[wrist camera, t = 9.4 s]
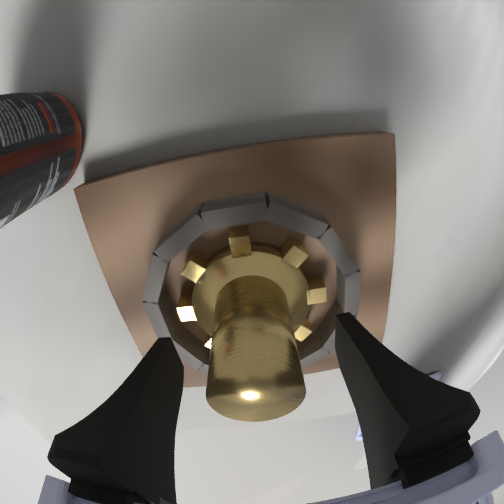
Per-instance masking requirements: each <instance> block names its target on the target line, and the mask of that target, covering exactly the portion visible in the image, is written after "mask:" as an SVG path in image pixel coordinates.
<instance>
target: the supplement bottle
mask: <svg viewBox="0 0 504 504" xmlns="http://www.w3.org/2000/svg"><path fill="white" fill-rule="evenodd" d="M82 142H83V139H82V127H81V123H80V120H79V117H78V115H77V113H76V111H75V109H74V108H73V106H72V105H71V104H70V102H69V101H68V100H66V99H65V98H64V97H62V96H61V95H59V94H56V93H51V92H28V93H13V94H4V95H0V228H2V227H3V226H4V225H6V224H8V223H9V222H10V221H12V220H13V219H14V218H16V217H17V216H19V215H20V214H22V213H23V212H25V211H27V210H28V209H30V208H31V207H33V206H34V205H36V204H38V203H39V202H41V201H42V200H44V199H45V198H47V197H49V196H51V195H52V194H54V193H55V192H57V191H58V190H59V189H61V188H62V187H64V186H65V185H66V184H67V182H68V181H69V180H70V179H71V177H72V176H73V175H74V173H75V171H76V169H77V167H78V164H79V161H80V158H81V153H82Z"/></svg>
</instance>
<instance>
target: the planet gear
mask: <svg viewBox="0 0 504 504" xmlns="http://www.w3.org/2000/svg"><path fill="white" fill-rule="evenodd" d="M228 239H229V244H230V245H228V246H226V247H224V248H222V249H220V250H218V251H216V252H215V253H213V254H212V255H211V256H210V257H209V258H208V257H206V256H205V255H203V254H201V253H200V252H198V251H197V250H195V249H194V250H193V252H192V253H191V254H190V256H189V257H188V259H187V260H186V262H185V264H184V267H183V270H182V273H181V274H182V275H183V276H185V277H187V278H188V279H190V280H192V281H193V282H195V285H194V289H193V293H190V294H182V295H180V298H179V301H178V305H177V311H178V314H179V316H180V319H181V321H190V320H197V322H198V323H199V325H200V326H201V327H202V328H203V330H204V331H206V339H205V346H206V347H208V348H210V357H209V367H208V377H207V388H206V399H207V402H208V403H209V405H210V406H211V407H212V408H213V409H214V410H215V411H216V412H218V413H219V414H221V415H223V416H226V417H228V418H231V419H235V420H240V421H250V422H257V421H266V420H272V419H276V418H279V417H282V416H284V415H286V414H288V413H290V412H292V411H293V410H295V409H296V408H297V407H298V406H299V405H300V404H301V403H302V402H303V400H304V398H305V395H306V388H305V383H304V378H303V373H302V368H301V363H300V358H299V353H298V348H297V343H296V339H298V340H300V341H301V342H302V341H303V340H304V339H305V338H306V337H307V336H308V335H309V334H310V333H311V332H312V328H311V325H310V321H309V318H308V317H307V315H308V312H309V310H310V305H311V304H316V303H322V302H326V286H325V283H324V281H323V279H322V276H321V275H317V276H311V277H305V274H304V271H303V269H302V267H301V266H300V265H301V264H302V263H303V262H304V260H305V259H306V258H307V257H308V256H309V255H308V253H307V251H306V248H305V246H304V244H302V243H301V242H300V241H298V240H297V239H295V238H294V237H293V236H291V235H289V237H288V238H287V239H286V240H285V241H284V242H283V244H282V245H281V246H280V247H277V246H275V245H272V244H269V243H265V242H258V241H251V239H250V233H249V227H248V225H247V226H241V227H234V228H229V238H228ZM295 338H296V339H295Z"/></svg>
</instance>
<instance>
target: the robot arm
mask: <svg viewBox="0 0 504 504" xmlns="http://www.w3.org/2000/svg"><path fill="white" fill-rule="evenodd" d="M335 351H336V355H337V359H338V363H339V367H340V370H341V372H342V375H343V377H344V380H345V383H346V385H347V388H348V390H349V393H350V396H351V398H352V401H353V404H354V406H355V409H356V413H357V416H358V420H359V425H358V429H357V433H356V437H355V438H356V440H357V441H359V440H363V443H364V448H365V453H366V459H367V465H368V471H369V478H370V486H371V490H368V491H364V492H361V493H357V494H353V495H349V496H345V497H340V498H336V499H331V500H326V501H321V502H315V503H309V504H494V502H493V496H492V493H491V492H493V491H494V490H496V489H497V488H499V487H500V486H502V485H503V484H504V443H503V441H502V439H501V437H500V435H499V433H498V431H494V432H492V433H490V434H489V435H487V436H485V437H484V438H482V439H480V440H478V441H477V442H475V443H474V444H472V445H471V446H470V444H469V442H468V440H470V435H469V433H468V430H469V429H470V428H471V426H472V425H473V424H474V423H475V421H476V420H477V418H478V416H479V414H480V409H479V407H478V405H477V403H476V401H475V399H474V398H473V397H472V395H471V394H470V392H467V391H464V390H461V389H458V388H455V387H452V386H449V385H447V384H444V383H442V382H440V381H439V380H440V378H441V374H440V373H439V372H438V373H435V374H432V375H429V376H428V375H426V374H424V373H422V372H420V371H418V370H417V369H415V368H413V367H412V366H410V365H409V364H407V363H406V362H404V361H403V360H402V359H400V358H399V357H398V356H396V355H395V354H394V353H392V352H391V351H390V350H389V349H388V348H386V347H385V346H384V345H383V344H382V343H381V342H380V341H378V340H377V339H376V338H375V337H374V336H373V335H372V334H371V333H370V332H369V331H368V330H367V329H366V328H365V327H364V326H363V325H362V324H361V323H360V322H359V321H358V320H357V319H356V318H355V317H354V316H353V315H352V314H351V313H350V312H346V313H341V314H336V323H335ZM183 383H184V366H183V363H182V361H181V359H180V357H179V355H178V352H177V350H176V348H175V346H174V343H173V341H172V339H171V337H162V338H158V339H157V340H156V341H155V343H154V344H153V345H152V347H151V348H150V349H149V351H148V352H147V353H146V355H145V356H144V357H143V359H142V360H141V361H140V363H139V364H138V365H137V367H136V368H135V369H134V371H133V372H132V373H131V374H130V375H129V376H128V378H127V379H126V380H125V381H124V382H123V384H122V385H121V386H120V387H119V388H118V389H117V390H116V391H115V392H114V393H113V394H112V395H111V396H110V397H109V398H108V399H107V400H106V401H105V402H104V403H103V404H102V405H100V406H99V407H98V408H97V409H96V410H94V411H93V412H92V413H91V414H89V415H88V416H87V417H85V418H84V419H82V420H81V421H79V422H78V423H76V424H75V425H73V426H72V427H70V428H68V429H66V430H64V431H63V432H61V433H59V434H57V435H55V437H54V440H53V442H52V445H51V448H50V451H49V454H48V457H47V458H48V460H49V462H50V463H51V464H52V465H53V466H55V467H56V468H57V469H59V470H60V471H61V472H63V473H64V474H65V475H67V476H68V477H70V478H71V482H70V483H68V482H66V481H63V480H60V479H57V478H55V477H52V476H49V475H46V477H45V481H44V484H43V487H42V491H41V494H40V498H39V501H38V504H177V503H176V492H175V478H174V476H175V475H174V447H175V431H176V424H177V419H178V413H179V408H180V402H181V397H182V391H183Z"/></svg>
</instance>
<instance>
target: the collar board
mask: <svg viewBox="0 0 504 504" xmlns="http://www.w3.org/2000/svg"><path fill="white" fill-rule="evenodd" d="M74 192H75V195H76V199H77V202H78V205H79V208H80V212H81V215H82V218H83V221H84V224H85V227H86V229H87V232H88V235H89V238H90V241H91V243H92V246H93V249H94V251H95V254H96V257H97V259H98V262H99V264H100V267H101V269H102V272H103V274H104V277H105V279H106V281H107V284H108V286H109V288H110V291H111V293H112V295H113V297H114V300H115V302H116V304H117V306H118V308H119V311H120V313H121V315H122V317H123V319H124V321H125V323H126V325H127V327H128V329H129V331H130V333H131V335H132V337H133V339H134V341H135V343H136V345H137V347H138V349H139V351H140V352H141V354H142V356H143V357H144V356H145V355H146V353H147V352H148V351H149V349H150V348H151V347H152V345H153V344H154V343H155V341H156V340H157V339H158V338H162V337H171V339H172V341H173V343H174V346H175V348H176V350H177V352H178V355H179V357H180V359H181V361H182V363H183V366H184V383H183V387H198V386H207V377H208V367H209V357H210V348H208V347H206V346H205V339H206V331H204V330H203V328H202V327H201V326H200V325H199V323H198V322H197V320H190V321H181V319H180V316H179V314H178V311H177V305H178V301H179V298H180V295H182V294H190V293H193V289H194V285H195V282H193V281H192V280H190V279H188V278H187V277H185V276H183V275H182V274H181V273H182V270H183V267H184V264H185V262H186V260H187V259H188V257H189V256H190V254H191V253H192V252H193V250H194V249H195V250H197V251H198V252H200V253H201V254H203V255H205V256H206V257H208V258H209V257H210V256H211V255H212V254H213V253H215V252H216V251H218V250H220V249H222V248H224V247H226V246H228V245H230V244H229V239H228V238H229V228H234V227H241V226H247V225H248V227H249V233H250V239H251V241H258V242H265V243H269V244H272V245H275V246H277V247H280V246H281V245H282V244H283V242H284V241H285V240H286V239H287V238H288V237H289V235H291V236H293V237H294V238H295V239H297V240H298V241H300V242H301V243H302V244H304V246H305V248H306V251H307V253H308V255H309V256H308V257H307V258H306V259H305V260H304V262H303V263H302V264H301V265H300V266H301V267H302V269H303V271H304V274H305V277H311V276H317V275H321V276H322V279H323V281H324V283H325V286H326V302H322V303H316V304H311V305H310V310H309V312H308V315H307V317H308V318H309V321H310V325H311V328H312V332H311V333H310V334H309V335H308V336H307V337H306V338H305V339H304V340H303V341H302V342H301V341H300V340H298V339H296V338H295V339H296V343H297V348H298V353H299V358H300V363H301V368H302V373H303V375H304V374H310V373H315V372H321V371H326V370H331V369H336V368H340V367H339V363H338V359H337V355H336V351H335V323H336V314H341V313H346V312H350V313H351V314H352V315H353V316H354V317H355V318H356V319H357V320H358V321H359V322H360V323H361V324H362V325H363V326H364V327H365V328H366V329H367V330H368V331H369V332H370V333H371V334H372V335H373V336H374V337H375V338H376V339H377V340H378V341H380V342H381V343H382V341H383V335H384V329H385V323H386V316H387V309H388V302H389V294H390V285H391V276H392V266H393V254H394V239H395V219H396V155H395V135H394V134H391V133H386V132H369V133H350V134H336V135H324V136H313V137H303V138H294V139H286V140H278V141H270V142H263V143H256V144H250V145H243V146H237V147H231V148H225V149H220V150H214V151H209V152H204V153H199V154H194V155H189V156H184V157H180V158H175V159H171V160H166V161H162V162H158V163H154V164H150V165H146V166H142V167H138V168H134V169H130V170H126V171H123V172H119V173H116V174H112V175H109V176H105V177H102V178H98V179H95V180H92V181H89V182H85V183H83V184H81V185H80V186H78V187H76V188H74Z"/></svg>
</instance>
